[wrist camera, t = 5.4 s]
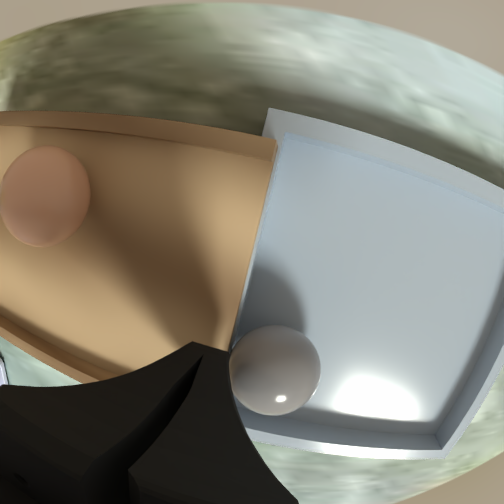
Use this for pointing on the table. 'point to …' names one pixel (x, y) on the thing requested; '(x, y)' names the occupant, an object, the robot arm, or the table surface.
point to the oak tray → (135, 241)
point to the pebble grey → (274, 370)
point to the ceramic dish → (377, 290)
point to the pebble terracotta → (44, 196)
